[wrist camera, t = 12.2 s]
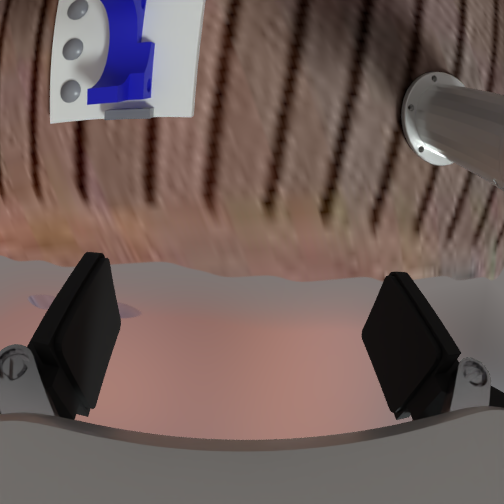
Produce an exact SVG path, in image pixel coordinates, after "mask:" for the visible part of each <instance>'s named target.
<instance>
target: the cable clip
mask: <svg viewBox="0 0 504 504" xmlns="http://www.w3.org/2000/svg"><path fill="white" fill-rule="evenodd" d="M100 1H101V2H102V3H103V5H104V7H105V9H106V12H107V16H108V21H109V32H110V39H109V50H108V57H107V61H106V65H105V68H104V71H103V73H102V75H101V77H100V79H99V81H98V82H97V83H96V84H95V85H94V86H93V87H91V88H89V89H87V105H92V104H103V103H116V102H122V101H126V100H142V99H148V98H151V89H152V73H153V60H154V49H155V43H153V42H141V40H142V31H143V22H144V15H145V8H146V1H147V0H100Z"/></svg>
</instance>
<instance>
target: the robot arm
mask: <svg viewBox="0 0 504 504" xmlns="http://www.w3.org/2000/svg"><path fill="white" fill-rule="evenodd" d="M408 106H409V108H408ZM401 119H402V127H403V131H404V135H405V137H406V140H407V142H408V144H409V146H410V147H411V149H412V150H413V151H414V152H415V153H416V154H417V155H418V156H419V157H420V158H422V159H423V160H425V161H427V162H429V163H430V164H434V165H440V166H444V165H449V164H452V163H456V164H458V165H460V166H461V167H463V168H465V169H467V170H469V171H471V172H472V173H474V174H476V175H478V176H479V177H481V178H483V179H485V180H486V181H488V182H490V183H491V184H493V185H495V186H496V187H498V188H500V189H501V190H503V191H504V95H500V94H496V93H492V92H487V91H482V90H477V89H472V88H467V87H465V86H464V85H463V84H462V83H461V82H460V81H459V80H458V79H457V78H455V77H454V76H452V75H450V74H447V73H444V72H429V73H425V74H423V75H421V76H419V77H418V78H416V79H415V80H414V81H413V82H412V83H411V85H410V87H409V88H408V90H407V92H406V94H405V97H404V100H403V104H402V113H401ZM120 326H121V319H120V314H119V310H118V305H117V300H116V295H115V290H114V285H113V279H112V273H111V267H110V261H109V259H108V258H105V256H104V254H103V253H94V252H86V253H85V254H84V256H83V257H82V259H81V260H80V261H79V263H78V264H77V266H76V267H75V269H74V271H73V272H72V273H71V275H70V276H69V278H68V279H67V281H66V282H65V284H64V285H63V287H62V289H61V290H60V292H59V293H58V294H57V296H56V298H55V299H54V301H53V302H52V304H51V306H50V307H49V309H48V311H47V312H46V314H45V316H44V317H43V319H42V321H41V323H40V325H39V327H38V328H37V330H36V332H35V333H34V335H33V337H32V339H31V341H30V342H29V344H28V346H27V347H26V346H23V345H18V344H14V345H10V346H7V347H5V348H4V349H2V350H1V351H0V504H504V393H503V392H501V391H500V390H498V389H496V388H494V387H492V386H491V378H490V374H489V371H488V370H487V368H486V367H485V366H484V365H483V364H482V363H481V362H480V361H478V360H476V359H474V358H468V357H466V358H463V359H462V360H461V361H460V362H458V360H457V358H458V357H459V355H460V354H461V352H460V351H459V349H458V347H457V346H456V344H455V342H454V341H453V339H452V337H451V336H450V334H449V333H448V331H447V330H446V328H445V326H444V325H443V323H442V322H441V320H440V319H439V317H438V316H437V314H436V313H435V311H434V310H433V308H432V307H431V305H430V304H429V303H428V301H427V300H426V298H425V297H424V295H423V294H422V293H421V291H420V290H419V288H418V287H417V285H416V284H415V283H414V281H413V280H412V279H411V277H410V276H409V274H408V273H406V272H391V273H390V274H389V276H386V277H385V279H384V282H383V284H382V287H381V289H380V291H379V294H378V296H377V298H376V301H375V303H374V306H373V308H372V310H371V312H370V315H369V317H368V319H367V321H366V324H365V326H364V328H363V330H362V340H363V342H364V344H365V347H366V350H367V352H368V355H369V357H370V360H371V362H372V365H373V367H374V370H375V372H376V375H377V377H378V380H379V383H380V385H381V388H382V391H383V393H384V396H385V398H386V401H387V404H388V407H389V409H390V411H391V412H393V413H394V415H395V418H396V420H398V419H403V418H407V417H409V416H410V415H411V416H412V419H413V420H412V421H410V422H406V423H401V424H397V425H392V426H387V427H382V428H376V429H371V430H365V431H358V432H352V433H344V434H337V435H328V436H319V437H307V438H293V439H274V440H221V439H199V438H186V437H175V436H166V435H158V434H150V433H142V432H136V431H129V430H123V429H116V428H111V427H106V426H101V425H95V424H91V423H86V422H82V421H77V420H74V419H75V416H76V414H79V415H83V416H87V417H88V415H89V412H90V408H91V409H94V408H95V406H96V403H97V400H98V396H99V393H100V389H101V386H102V383H103V379H104V376H105V373H106V369H107V366H108V363H109V360H110V357H111V354H112V351H113V348H114V345H115V342H116V339H117V336H118V333H119V330H120Z"/></svg>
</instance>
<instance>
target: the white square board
mask: <svg viewBox="0 0 504 504" xmlns="http://www.w3.org/2000/svg"><path fill="white" fill-rule="evenodd" d="M205 2H206V0H147V1H146V8H145V15H144V22H143V31H142V40H141V42H153V43H155V49H154V60H153V73H152V89H151V98H148V99H142V100H126V101H122V102H116V103H103V104H92V105H87V89H89V88H91V87H93V86H94V85H95V84H96V83H97V82H98V81H99V79H100V77H101V75H102V73H103V71H104V68H105V65H106V61H107V57H108V50H109V39H110V32H109V21H108V16H107V12H106V9H105V7H104V5H103V3H102V2H101V1H100V0H59V3H58V9H57V15H56V22H55V29H54V37H53V47H52V59H51V77H50V124H52V123H60V122H69V121H79V120H91V119H104V120H115V119H148V118H152V117H192V116H194V105H195V92H196V81H197V70H198V60H199V50H200V41H201V33H202V24H203V17H204V9H205Z"/></svg>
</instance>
